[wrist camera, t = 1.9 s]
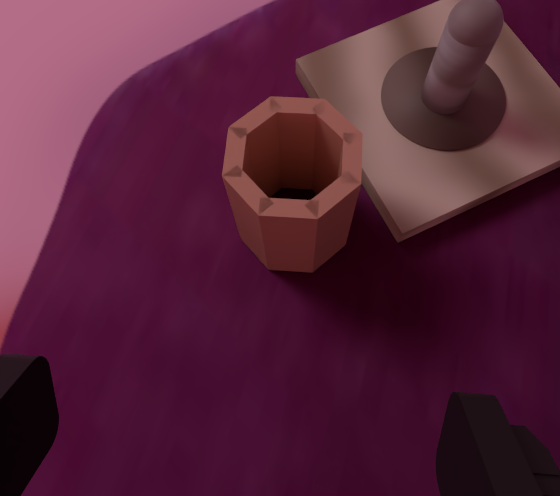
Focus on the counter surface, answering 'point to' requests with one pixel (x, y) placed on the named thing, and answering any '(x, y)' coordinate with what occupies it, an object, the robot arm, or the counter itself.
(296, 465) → the counter surface
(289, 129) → the collar
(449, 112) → the post stand
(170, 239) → the counter surface
